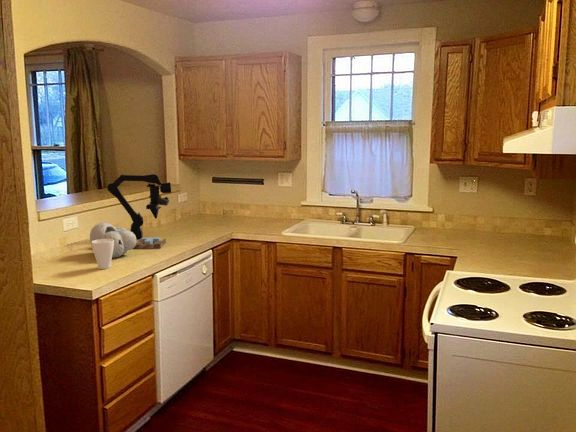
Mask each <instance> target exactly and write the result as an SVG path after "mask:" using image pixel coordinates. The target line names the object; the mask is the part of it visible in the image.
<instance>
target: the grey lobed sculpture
mask: <svg viewBox="0 0 576 432" xmlns="http://www.w3.org/2000/svg"><path fill="white" fill-rule="evenodd" d="M115 228H116V227H115V226H114V225H113V224H111V223H109V222H105V221H103V222H99V223H97V224H95V225H94V226H92V228H91V231H90V233H89V241H90V245H91V247H92V243H91V242H92V241H94V240H99V239H113V240H114V248H113V254H112V259H113V258H119V257H121V256H122V255H125V254H126V253H127V252H128V251H131V250H133V249H134V247H135V245H136V243H137V242H138V241H137V240H138V239H136V236H135V234H133V232H131V231H130V230H128V229H126V230H123V231H121V232H119V233H118V232H117V230H116V229H115Z"/></svg>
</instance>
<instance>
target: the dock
mask: <svg viewBox="0 0 576 432" xmlns="http://www.w3.org/2000/svg"><path fill="white" fill-rule="evenodd" d="M166 243H167V239H166V238H164V239H162V240H160V241H157V242H156V243H154V244H144V241H142V238H141V239H138V241H136V245H135V247H134V248H133V249H134V250H139V249H140V250H143V249H144V250H145V249H146V250H148V249H151V250H152V249H157V250H158V249H162V248H163V247H164V246H165V245H166Z"/></svg>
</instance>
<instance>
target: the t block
mask: <svg viewBox="0 0 576 432" xmlns="http://www.w3.org/2000/svg"><path fill="white" fill-rule="evenodd" d="M141 239H142V241H144V244H154V243H156V242H157V241H161V237H158V236H157V237H142V238H141Z"/></svg>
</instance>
